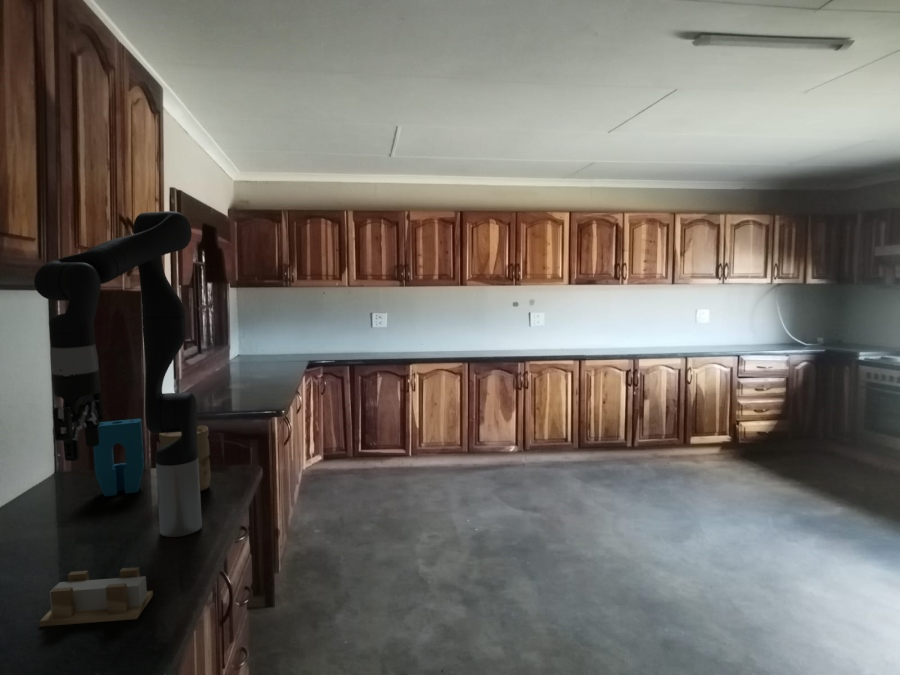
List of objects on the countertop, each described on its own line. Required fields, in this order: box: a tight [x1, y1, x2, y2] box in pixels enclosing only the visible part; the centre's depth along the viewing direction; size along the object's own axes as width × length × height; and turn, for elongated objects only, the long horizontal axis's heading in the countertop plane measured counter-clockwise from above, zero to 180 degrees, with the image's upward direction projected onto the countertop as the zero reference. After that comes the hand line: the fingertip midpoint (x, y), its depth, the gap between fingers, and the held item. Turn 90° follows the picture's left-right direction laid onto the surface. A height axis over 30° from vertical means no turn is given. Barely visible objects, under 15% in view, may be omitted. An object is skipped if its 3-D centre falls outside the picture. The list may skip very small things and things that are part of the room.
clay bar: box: [48, 575, 148, 614], centre depth 111 cm, size 4×15×4 cm, turn 97°
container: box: [158, 425, 212, 492], centre depth 170 cm, size 13×13×18 cm
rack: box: [39, 566, 154, 627], centre depth 111 cm, size 8×16×6 cm, turn 97°
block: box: [92, 418, 145, 497], centre depth 171 cm, size 12×5×20 cm, turn 113°
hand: (83, 452), depth 116 cm, fingers open, 8 cm apart
